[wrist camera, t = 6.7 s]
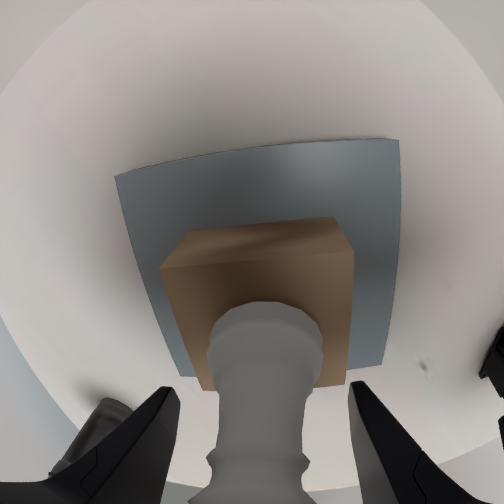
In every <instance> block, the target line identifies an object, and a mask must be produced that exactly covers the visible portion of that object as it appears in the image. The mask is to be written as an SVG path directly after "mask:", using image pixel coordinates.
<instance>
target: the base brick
mask: <svg viewBox="0 0 504 504" xmlns="http://www.w3.org/2000/svg"><path fill="white" fill-rule="evenodd" d="M159 270H160V273H161V277H162V280H163V283H164V286H165V289H166V293H167V296H168V299H169V302H170V305H171V308H172V311H173V314H174V317H175V320H176V323H177V325H178V328H179V331H180V334H181V337H182V339H183V342H184V345H185V347H186V350H187V353H188V355H189V358H190V360H191V363H192V366H193V368H194V371H195V373H196V376H197V378H198V380H199V383H200V385H201V388H202V390H203V391H216V390H215V386H214V381H213V378H212V377H211V376H210V372H209V367H208V362H207V351H208V348H209V346H210V339H209V337H210V334H211V332H212V329H213V327H214V324H215V322H216V321H217V320H218V319H219V318H220V317H222V316H223V315H224V314H225V313H226V312H228V311H229V310H230V309H232V308H235V307H238V306H241V305H244V304H247V303H251V302H280V303H283V304H286V305H289V306H292V307H295V308H297V309H300V310H302V311H303V312H304V313H306V314H307V315H308V316H309V317H310V318H311V319H312V320H314V321H315V322H316V323H317V325H318V328H319V330H320V333H321V335H322V338H323V343H322V352H323V354H324V358H323V363H322V368H321V373H320V377H319V379H318V380H317V381H316V383H315V384H314V387H313V388H317V387H327V386H335V385H343V384H345V377H346V369H347V360H348V351H349V341H350V329H351V316H352V299H353V275H354V250H353V248H352V247H351V245H350V243H349V241H348V240H347V238H346V236H345V235H344V233H343V231H342V230H341V228H340V226H339V225H338V223H337V221H336V220H335V218H334V217H321V218H310V219H299V220H289V221H278V222H268V223H259V224H249V225H240V226H231V227H222V228H213V229H205V230H196V231H189V232H188V233H187V234H186V236H185V237H184V238H183V239H182V240H181V242H180V243H179V244H178V245H177V247H176V248H175V249H174V250H173V251H172V253H171V254H170V255H169V256H168V258H167V259H166V260H165V261H164V263H163V264H162V265H161V266H160V268H159Z"/></svg>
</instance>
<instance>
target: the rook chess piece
mask: <svg viewBox="0 0 504 504" xmlns="http://www.w3.org/2000/svg"><path fill="white" fill-rule="evenodd" d="M209 339H210V346H209V348H208V351H207V362H208V367H209V372H210V376H211V377H212V378H213V381H214V386H215V390H216V391H217V392H218V393H219V397H220V399H219V432H218V437H217V443H216V448H215V449H213V450H212V451H211V452H210V453H209V454H208V455H207V457H206V459H207V461H208V463H209V465H210V466H211V468H212V478H211V480H210V483H209V485H208V486H207V487H205V488H204V489H203V490H201V491H200V492H199V493H198V494H196V495H195V496H194V497H192V498H191V499H190V500H188V503H189V504H316V502H315V501H314V500H313V499H312V498H311V497H310V496H309V495H308V494H307V493H306V492H305V491H304V490H303V488H302V483H301V477H302V474H303V473H304V472H305V470H306V469H307V468H308V466H309V463H310V461H309V459H308V458H307V457H306V456H305V455H304V454H303V453H302V426H303V418H304V409H305V403H306V399H307V397H308V396H309V395H310V394H311V393H312V392H313V387H314V384H315V383H316V381H317V380H318V379H319V377H320V373H321V368H322V363H323V358H324V354H323V352H322V343H323V338H322V335H321V333H320V330H319V328H318V325H317V323H316V322H315V321H314V320H312V319H311V318H310V317H309V316H308V315H307V314H306V313H304V312H303V311H302V310H300V309H297V308H295V307H292V306H289V305H286V304H283V303H280V302H251V303H247V304H244V305H241V306H238V307H235V308H232V309H230V310H229V311H228V312H226V313H225V314H224V315H223V316H222V317H220V318H219V319H218V320H217V321H216V322H215V324H214V327H213V329H212V332H211V334H210V337H209Z"/></svg>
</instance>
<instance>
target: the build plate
mask: <svg viewBox="0 0 504 504" xmlns="http://www.w3.org/2000/svg"><path fill="white" fill-rule="evenodd" d="M115 181H116V185H117V190H118V194H119V198H120V203H121V207H122V211H123V215H124V218H125V222H126V226H127V230H128V233H129V237H130V240H131V244H132V247H133V251H134V254H135V257H136V260H137V264H138V267H139V270H140V273H141V276H142V279H143V282H144V285H145V288H146V291H147V294H148V297H149V300H150V302H151V305H152V308H153V311H154V313H155V316H156V319H157V321H158V324H159V326H160V329H161V331H162V334H163V336H164V339H165V341H166V344H167V346H168V349H169V351H170V353H171V356H172V358H173V360H174V363H175V365H176V367H177V370H178V372H179V374H180V376H187V377H197V376H196V373H195V371H194V368H193V366H192V363H191V360H190V358H189V355H188V353H187V350H186V347H185V345H184V342H183V339H182V337H181V334H180V331H179V328H178V325H177V323H176V320H175V317H174V314H173V311H172V308H171V305H170V302H169V299H168V296H167V293H166V289H165V286H164V283H163V280H162V277H161V273H160V270H159V268H160V266H161V265H162V264H163V263H164V261H165V260H166V259H167V258H168V256H169V255H170V254H171V253H172V251H173V250H174V249H175V248H176V247H177V245H178V244H179V243H180V242H181V240H182V239H183V238H184V237H185V236H186V234H187V233H188V232H189V231H196V230H205V229H213V228H222V227H231V226H240V225H249V224H259V223H268V222H278V221H289V220H299V219H310V218H321V217H334V218H335V220H336V221H337V223H338V225H339V226H340V228H341V230H342V231H343V233H344V235H345V236H346V238H347V240H348V241H349V243H350V245H351V247H352V248H353V250H354V275H353V299H352V316H351V329H350V341H349V351H348V360H347V369H346V370H350V369H357V368H364V367H370V366H376V365H382V360H383V356H384V351H385V346H386V341H387V336H388V330H389V325H390V319H391V312H392V306H393V299H394V291H395V283H396V274H397V264H398V252H399V237H400V211H401V176H400V151H399V140H394V139H346V140H326V141H311V142H299V143H288V144H278V145H269V146H261V147H253V148H246V149H238V150H232V151H225V152H219V153H213V154H207V155H202V156H196V157H191V158H186V159H181V160H176V161H171V162H166V163H162V164H157V165H153V166H148V167H144V168H140V169H136V170H132V171H128V172H125V173H122V174H119V175H117V176H115Z"/></svg>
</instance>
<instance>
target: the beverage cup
mask: <svg viewBox="0 0 504 504" xmlns="http://www.w3.org/2000/svg"><path fill="white" fill-rule="evenodd" d="M132 412H133V411H132V410H131V409H130V408H129V407H127V406H126V405H124V404H122V403H121V402H119V401H116V400H114V399H109V398H104V399H103V400H102V401H101V403H100V404H99V405H98V406H97V408H96V409H95V410H94V411H93V413H92V414H91V416H90V417H89V419H88V420H87V421H86V423H85V424H84V426H83V427H82V429H81V430H80V432H79V433H78V435H77V436H76V438H75V440H74V441H73V442H72V444H71V445H70V447H69V449H68V450H67V452H66V453H65V455H64V456H63V458H62V459H61V460H59V461H58V463H57V464H56V465H55V466H54V467H53V469H52V471H51V472H49V474H48V475H49V477H48V478H50V477H52V476H53V475H55V474H56V473H58V472H59V471H61V470H63V469H64V468H66V467H67V466H69V465H70V464H72V463H73V462H75V461H76V460H77V459H79V458H80V457H82V456H83V455H84V454H85V453H87V452H88V451H89V450H90V449H91V448H93V447H94V446H95V445H96V446H97V443H98V442H100V441H101V440H102V439H103V438H104V437H105V436H106V435H108V434H109V433H110V432H111V431H112V430H113V429H114V428H116V427H117V426H118V425H119V424H120V423H121V422H122V421H123V420H125V419H126V418H127V417H128V416H129V415H130V414H131V413H132Z"/></svg>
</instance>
